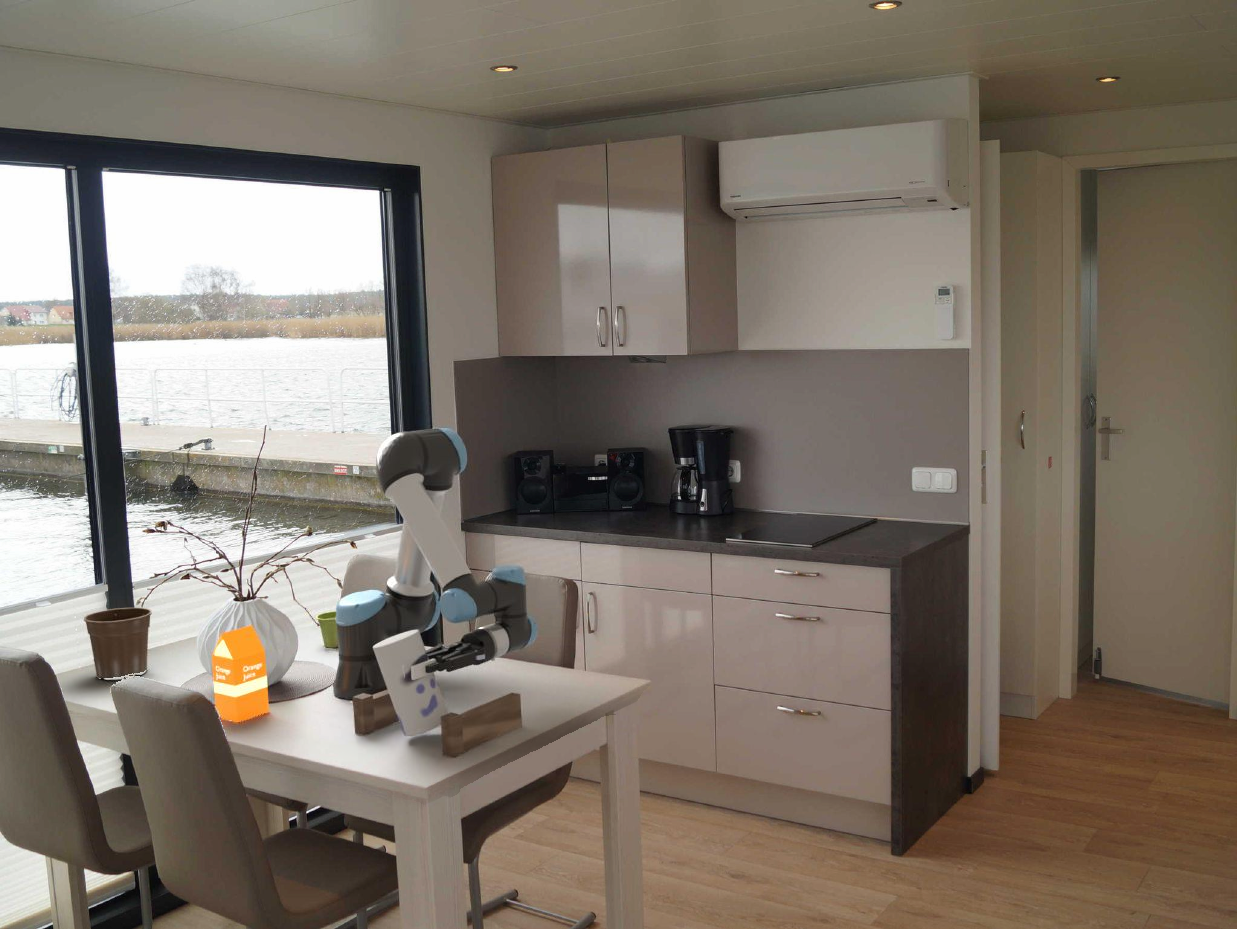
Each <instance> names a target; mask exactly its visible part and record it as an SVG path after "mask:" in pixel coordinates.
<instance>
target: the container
mask: <svg viewBox="0 0 1237 929" xmlns="http://www.w3.org/2000/svg"><path fill="white" fill-rule="evenodd" d="M373 650H374V652H375V655H376V658H377V661H378V664H379V666H380V669H381V672H382V675H383V678H384V680H385V683H386V686H387V689H388V692H389V694H390V697H391V700H392V703H393V706H394V708H395V711H396V714H397V717H398V720H399V722H398V723H399V725H400V728H401V730H402V733H403V736H404V737H414V736H417V735H421V734H424V733H427V732H430V731H432V730H434V729H436V728H439V727H441V716H443V715H446V714H448V713H449V712H448V708H447V706H446V703H445V701H444V698H443V695H442V693H441V688H440V687H439V683H438V682H437V678H436V675H435V672H434V673H432V674H429V675H426V676H424V677H421V678H418V679H415V680H412V678H411V666H414V665H417V664H419V663H422V662H425V661H428V660H429V658H428V655H427V652H426V650H427V649H426V648H425V644H424V642H423V639H422V636H421V633H419V630H411V631H407V632H404V633H401V634H398V635H395V636H393V637H390V638H388V639H385V640H383V641H381V642H379V643H377V644H376V645H374V646H373ZM402 665H405V678H404V674H403V667H402Z"/></svg>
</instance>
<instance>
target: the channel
mask: <svg viewBox="0 0 1237 929" xmlns="http://www.w3.org/2000/svg"><path fill="white" fill-rule="evenodd" d="M521 696H522V695H521V694H520V693H515V692H510V693H508V694H505V695H502V696H500V697H497V698H495V699H493V700H491V701H489V702H488V701H487V702H486V703H483V704H480V705H478V706H476V707H474V708H471V709H469V710H467V711H464V712H460V713H457V712H448V714H446V715H443V716H441V725H440V730H441V733H440V734H441V748H442V756H445V755H446V756H445V757H449V758H453V757H454V758H455V756H456V757H458V756H460V755H463V754H464V753H465V752H464V751H466V752H468V751H470V750H473V749H474V748H476V746H477V747H478V746H479V747H480V746H481V745H483V744H485V743H488V742H490V741H492V740H494V739H497V738H498V737H499V738H500V737H501V736H503V735H505V734H507V733H510V732H511V731H514V730H516V729H518V728H520V727H522V726H523V720H522V719H523V718H522V702H521V701H522V700H521V699H522V698H521ZM352 708H353V724H354V725H353V726H354V733H355V734H358V735H361V736H367V735H370V734H372V733H374V732H376V731H378V730H380V729H383V728H385V727H388V726H391V725H394V724H395V723H400V722H399V720H398V717H397V714H396V711H395V708H394V706H393V703H392V700H391V697H390V694H389V692H388V689H387V690H385V691H382V692H379V693H376V694H374V695H369V694H365V693H362V694H360V695H357V696H354V697H353V699H352ZM469 749H470V750H469ZM462 753H463V754H462ZM459 754H460V755H459Z"/></svg>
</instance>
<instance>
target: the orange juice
mask: <svg viewBox="0 0 1237 929" xmlns="http://www.w3.org/2000/svg"><path fill="white" fill-rule="evenodd" d="M265 651H266V650H265V649H264V645H263V644H262V642H261V640H260V638H259V636H258V634H257V632H256V631H255V629H254V626H253V624H251V625H247V626H244V627H240V628H235V629H233V630H230V631H226V632H223V633H220V636H219V638H218V640H217V643H216V645H215V648H214V650H213V653H212V655H211V661H212V662H211V664H212V674H213V676H212V677H213V693H214V702H215V704H214V705H215V709H216V708H217V710H218V711H219V714H220V717H222V719H221V720H223V719H227V720H232V721H234V722H233V723H235V722H240V723H242V722H244V721H243V720H245V721H247V720H246V719H248V720H251V719H252V718H251V717H254V718H256V717H259V716H262V715H264V713H265V714H268V713H270V706H269V691H268V687H269V686H268V675H267V665H266V663H267V662H266V652H265ZM261 714H262V715H261ZM258 715H259V716H258ZM255 716H256V717H255ZM250 718H251V719H250ZM227 720H226V721H227ZM241 721H242V722H241Z"/></svg>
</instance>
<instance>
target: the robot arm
mask: <svg viewBox="0 0 1237 929" xmlns="http://www.w3.org/2000/svg"><path fill="white" fill-rule="evenodd" d="M467 463H468V453H467V449H466V446H465V443H464V442H463V439H462V437H460V435H459V434H458V433H457V432H456V431H455V430H453V429H451V428H445V427H444V428H443V427H442V428H439V427H432V428H431V429H430V428H429V429H419V430H411V431H400V432H395V433H393V434H391V435H390V436H388V438H386V439H385V440H384V441H383V443H382V444H381V445H380V447H379V449H378V451H377V455H376V461H375V471H376V477H377V480H378V481H377V482H378V484H379V487H380V489H381V491H382V492H383V494H384V496H385V497H386V499H389V500H392V501H393V503H394V505H395V507H396V508H397V510H398V512H399V514H400V516H401V517H402V519H403V523H402V528H401V533H400V534H401V535H400V536H401V537H400V542H399V545H398V546H399V547H398V553H397V560H396V566H395V573H394V575H392V576H391V577H389V578H388V579H387V582H386V588H385V592H383V591H381V590H378V589H367V590H363V591H356V592H353V593H351V594H347V595H345V596H344V597H342V598H341V599H339V601H338V602H337V604H336V607H335V611H336V623H337V636H338V646H337V647H338V648H337V649H338V652H337V653H338V664H337V670H336V673H335V679H334V681H333V683H332V684H333V685H332V688H333V690H332V691H333V695H335V697H337V698H340V699H345V700H346V699H347V700H353V697H354V696H357V695H360V694H362V693H365V694H369V695H374V694H376V693H379V692H382V691H385V690H387V686H386V683H385V680H384V678H383V675H382V672H381V669H380V666H379V664H378V661H377V658H376V655H375V652H374V650H373V646H374V645H376V644H377V643H379V642H381V641H383V640H385V639H388V638H390V637H393V636H395V635H398V634H401V633H404V632H407V631H411V630H419V633H420V634H421V633H423V632H425V631H428V630H430V629H431V628H433V627H434V626H435V624H436V623H437V621H438V619H439V617H440V614H441V615H442V617H443V618H444V619H445V620H446V621H447V622H448V623H452V624H460V623H465V622H466V623H467V622H471V621H473V620H475V619H478V618H482V617H485V616H488V615H492V614H493V617H494V622H493V623H490V624H487V625H484V626H481V627H479V628H476V629H474V630H473V629H472V630H470V631H467V632H466V633H464V634H463V635H462V637H461V639H460V641H455V642H454V643H452V644H450V645H447V646H446V645H445V643H443V642H440V643H438V644H437V645H436V646H434V647H431V648H428V649H425V650H426V652H427V655H428V658H429V660H428V661H425V662H422V663H419V664H417V665H414V666H411V678H412V680H415V679H418V678H421V677H424V676H426V675H429V674H432V673H434V674H435V673H437V672H443V671H446V672H447V673H451V672H453V671H456V670H457V671H458V670H461V669H464V668H467V667H470V666H480V665H482V664H484V663H488V662H489V661H493V662H495V660H496V659H497V658H499V657H503V656H505V655H507V654H511V653H513V652H517V651H519V650H520V651H521V650H522V649H525V648H526V647H528V646H529V645H532V644H533V643H534V642H535V641H536V639H537V637H538V632H539V631H538V625H537V624H536V621H535V618H533V617H532V616H531V615H530V614H528V608H527V581H526V579H527V578H526V572H525V569H524V568H523V567H522V566H519V565H513V564H512V565H500V566H496V567H495V568H493V569H492V572H491V577H490V578H491V579H488V580H483V581H479V582H477V580H476V578H475V576H474V575H473V573H472V571H471V569H470V568H469V566H468V564H467V562H466V561H465V558H464V557H463V555H462V554H461V551H460V549H459V547H458V546H457V544H456V543H455V540H454V539H453V537H452V535H451V533H450V531H449V530H448V528H447V526H446V524H445V522H444V520H443V518H442V517H441V515H442V510H443V506H444V505H443V504H444V498H445V494H446V493H447V492H449V491H451V490H452V488H453V482H454V478H455V476H458V475H460V474H461V473H462V472H463V471H464V470H465V469H466V466H467ZM431 573H432V574H433V576H434V578H435V580H436V582H437V583H438V585H439V587H440V590H441V591H442V592H443V593H442V594H441V595H440V596H439V593H438V592H437V590H436V589H435V585H434V584H433V583H434V582H432V581H431ZM402 667H403V674H404V678H405V665H402Z"/></svg>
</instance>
